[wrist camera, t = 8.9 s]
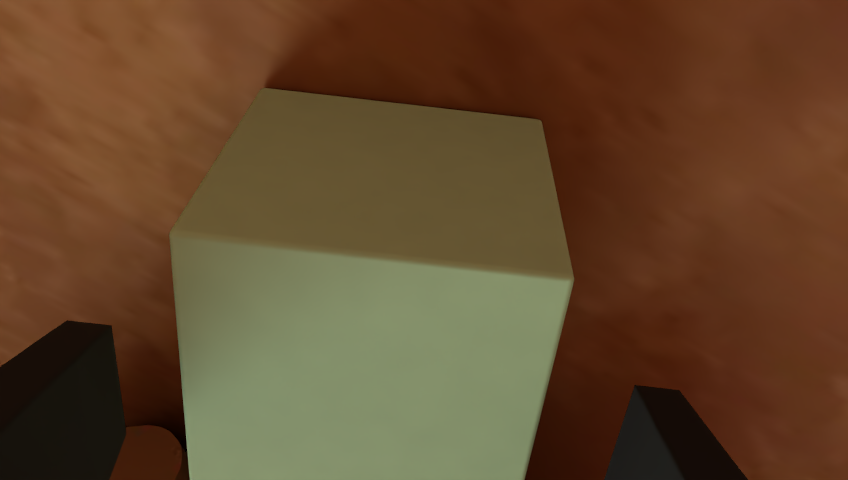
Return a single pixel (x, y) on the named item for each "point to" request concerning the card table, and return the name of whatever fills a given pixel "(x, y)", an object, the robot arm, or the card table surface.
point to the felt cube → (369, 293)
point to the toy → (150, 456)
